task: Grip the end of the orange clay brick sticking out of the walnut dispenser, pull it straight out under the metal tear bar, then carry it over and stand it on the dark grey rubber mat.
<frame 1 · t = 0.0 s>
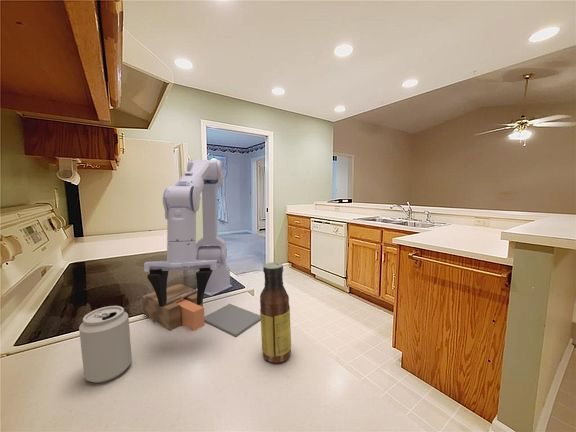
hand: (181, 304, 53), 11 cm above the countertop, tool pointing down, fingers open, 7 cm apart
dispenser: (176, 316, 68), on the countertop
orange clay brick: (187, 322, 65), on the countertop
mat: (232, 319, 66), on the countertop
can: (109, 371, 48), on the countertop
sauce bottle: (275, 355, 52), on the countertop
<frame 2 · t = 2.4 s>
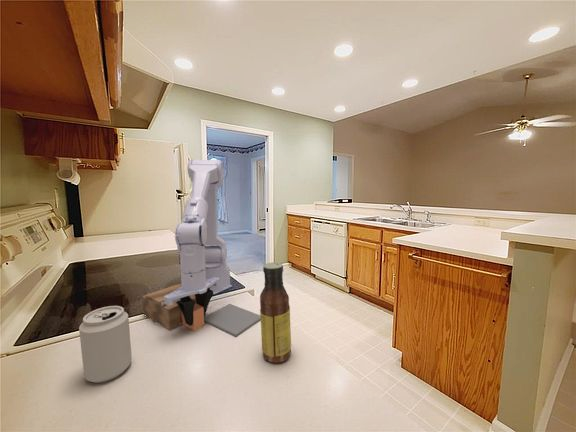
hand: (195, 320, 63), 1 cm above the countertop, tool pointing down, fingers closed on orange clay brick, 3 cm apart
orange clay brick: (187, 321, 65), on the countertop, touching gripper
everything else where it was.
when the fingers open (3 cm above the countertop, at t = 7.6 s): orange clay brick stays where it is, resting on mat.
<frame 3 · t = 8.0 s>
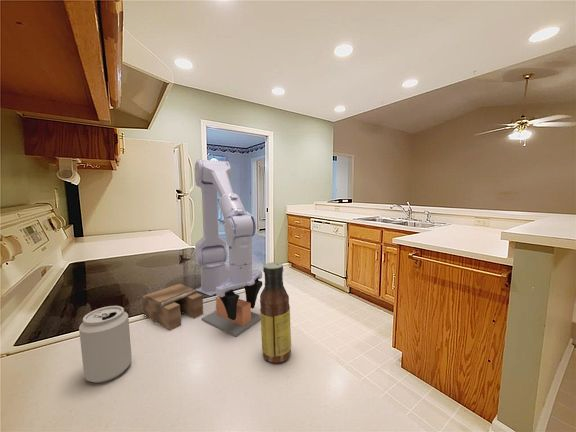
hand: (241, 312, 64), 3 cm above the countertop, tool pointing down, fingers open, 6 cm apart
orange clay brick: (233, 317, 66), point 1 cm above the countertop, touching mat
everything else where it was.
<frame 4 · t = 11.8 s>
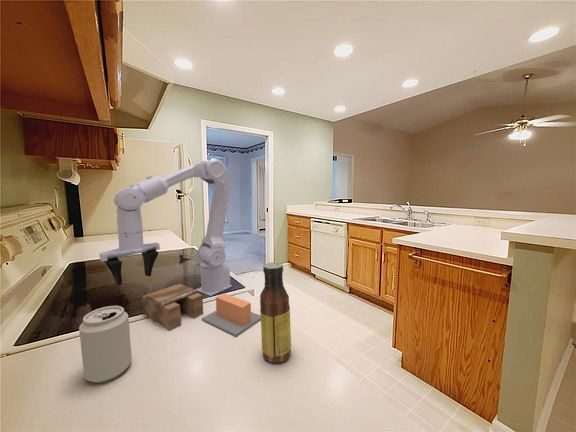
hand: (134, 279, 69), 9 cm above the countertop, tool pointing down, fingers open, 7 cm apart
nothing on the countertop moved.
at the end: orange clay brick inside the target area on the mat (0.3 cm from its centre), point 0.6 cm above the mat's base; orange clay brick tilted 0°; the gripper is holding nothing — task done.
